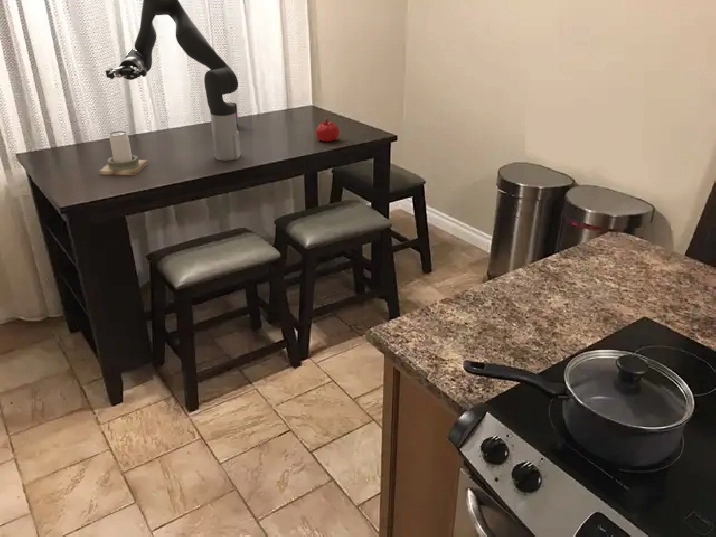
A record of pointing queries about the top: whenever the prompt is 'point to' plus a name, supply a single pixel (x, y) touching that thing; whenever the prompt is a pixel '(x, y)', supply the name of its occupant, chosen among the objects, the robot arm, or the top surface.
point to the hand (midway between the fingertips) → (122, 76)
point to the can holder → (124, 167)
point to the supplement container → (235, 112)
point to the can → (120, 147)
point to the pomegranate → (327, 131)
